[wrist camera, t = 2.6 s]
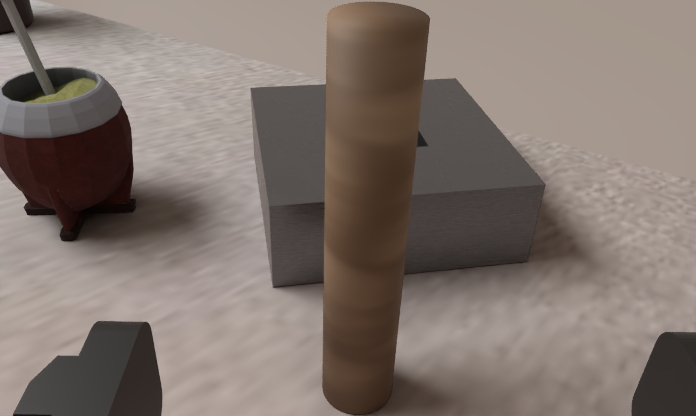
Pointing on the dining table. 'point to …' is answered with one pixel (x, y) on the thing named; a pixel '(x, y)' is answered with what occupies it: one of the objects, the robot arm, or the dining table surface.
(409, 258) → the grey square hole block
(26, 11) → the bottle
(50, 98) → the mate gourd
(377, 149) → the pin
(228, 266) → the dining table surface
